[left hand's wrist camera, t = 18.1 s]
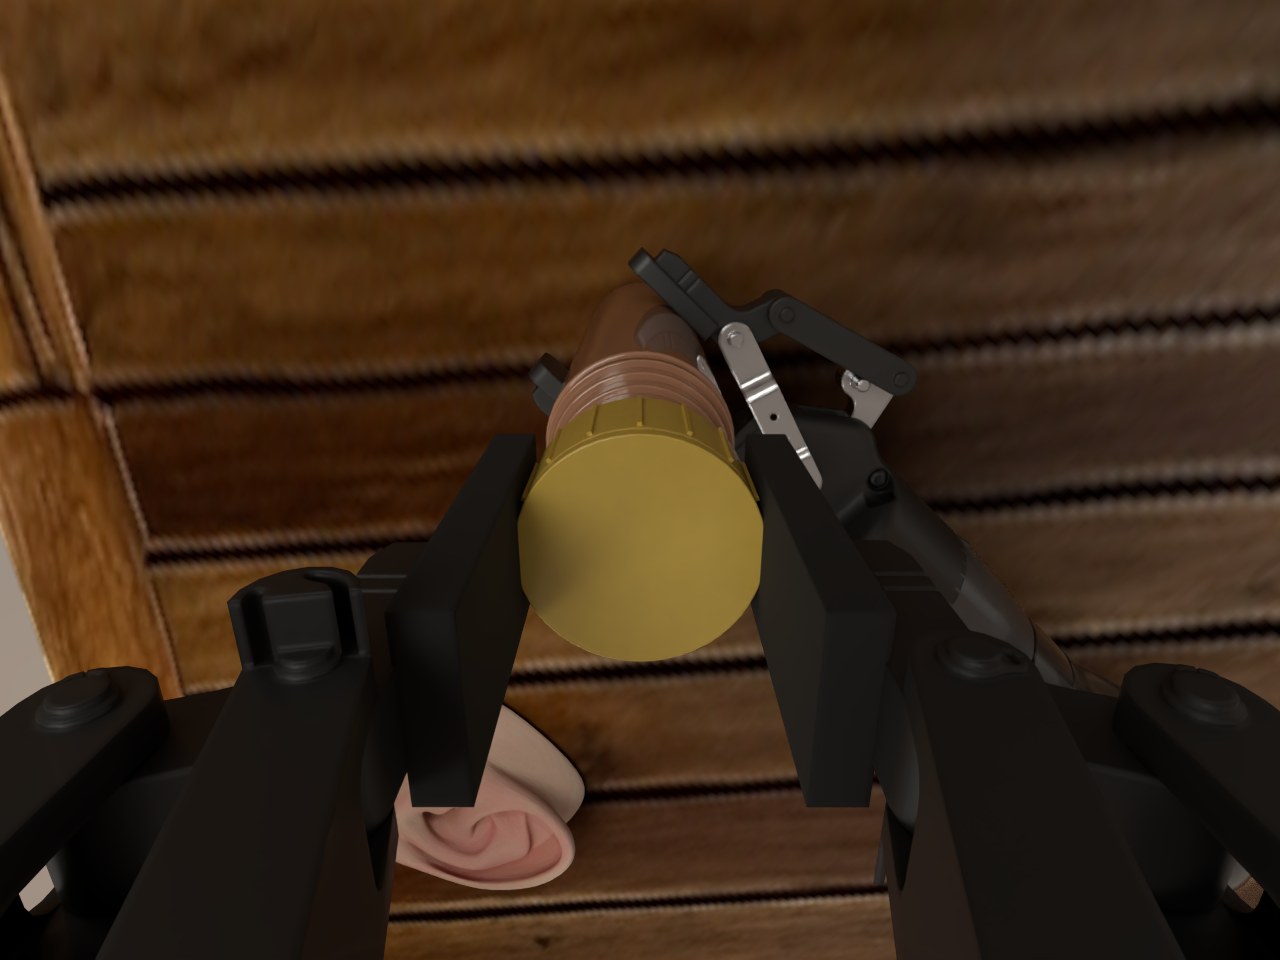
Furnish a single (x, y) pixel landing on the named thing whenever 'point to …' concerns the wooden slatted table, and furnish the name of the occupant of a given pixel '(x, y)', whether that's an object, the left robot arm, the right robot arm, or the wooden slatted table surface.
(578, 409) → the bottle
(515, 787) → the anatomical model
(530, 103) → the wooden slatted table surface
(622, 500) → the cap
